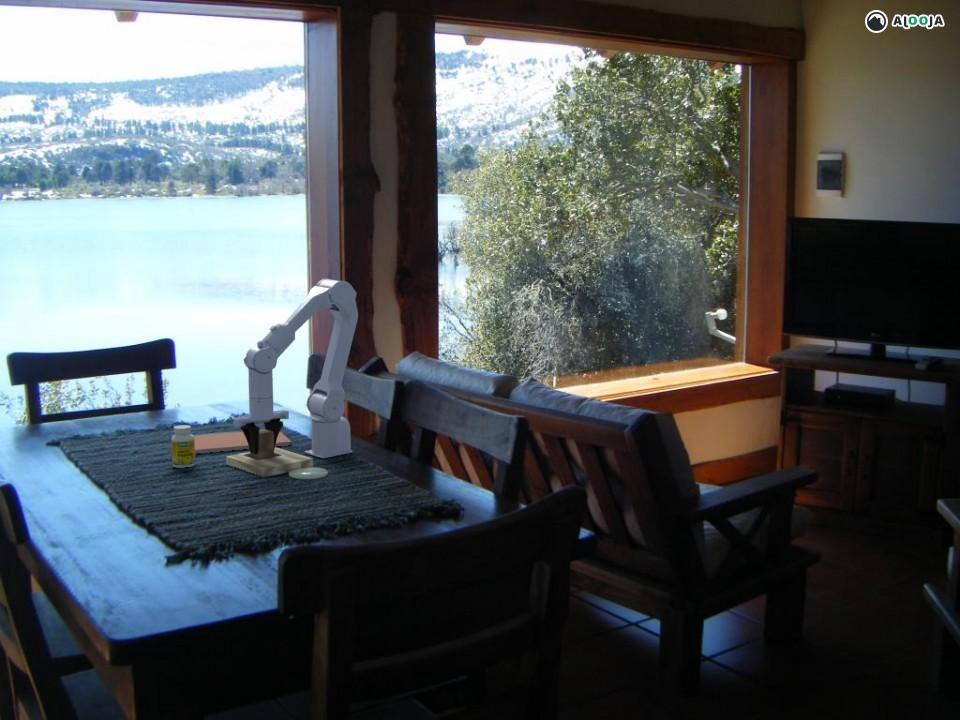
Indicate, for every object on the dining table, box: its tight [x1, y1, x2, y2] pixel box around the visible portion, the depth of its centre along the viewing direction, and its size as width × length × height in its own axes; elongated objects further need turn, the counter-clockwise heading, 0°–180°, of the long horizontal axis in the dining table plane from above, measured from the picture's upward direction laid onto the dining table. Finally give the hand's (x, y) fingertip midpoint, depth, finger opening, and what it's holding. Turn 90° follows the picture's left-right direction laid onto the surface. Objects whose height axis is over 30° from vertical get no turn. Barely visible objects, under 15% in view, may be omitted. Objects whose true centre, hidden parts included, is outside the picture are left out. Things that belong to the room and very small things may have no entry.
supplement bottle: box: [171, 424, 196, 469], centre depth 252 cm, size 5×5×10 cm
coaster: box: [288, 466, 329, 481], centre depth 246 cm, size 9×9×1 cm
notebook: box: [192, 430, 292, 455], centre depth 275 cm, size 27×17×2 cm, turn 114°
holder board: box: [225, 447, 314, 478], centre depth 253 cm, size 14×16×2 cm
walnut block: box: [251, 428, 274, 460], centre depth 255 cm, size 4×4×8 cm
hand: (262, 451), depth 255 cm, fingers open, 4 cm apart
